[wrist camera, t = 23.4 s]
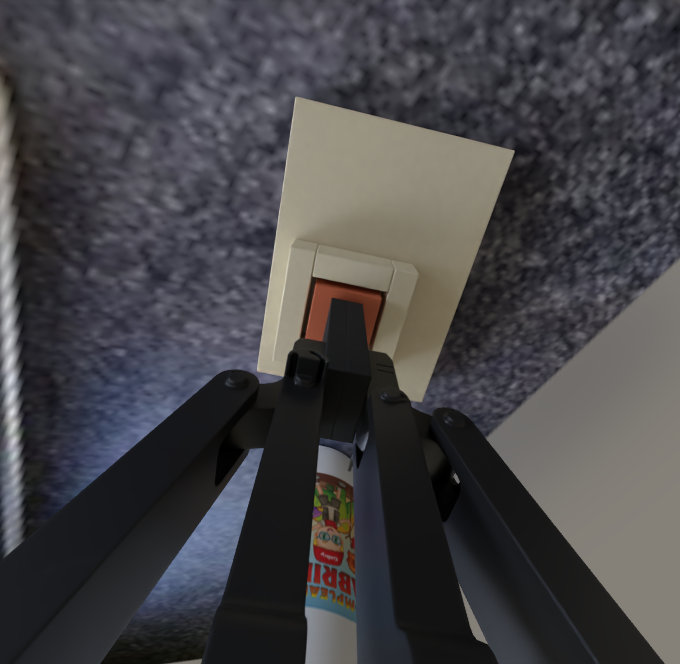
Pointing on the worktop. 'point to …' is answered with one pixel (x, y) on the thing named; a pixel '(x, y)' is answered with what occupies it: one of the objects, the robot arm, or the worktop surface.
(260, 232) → the worktop surface
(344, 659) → the milk bottle
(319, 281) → the red switch button
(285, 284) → the light switch
